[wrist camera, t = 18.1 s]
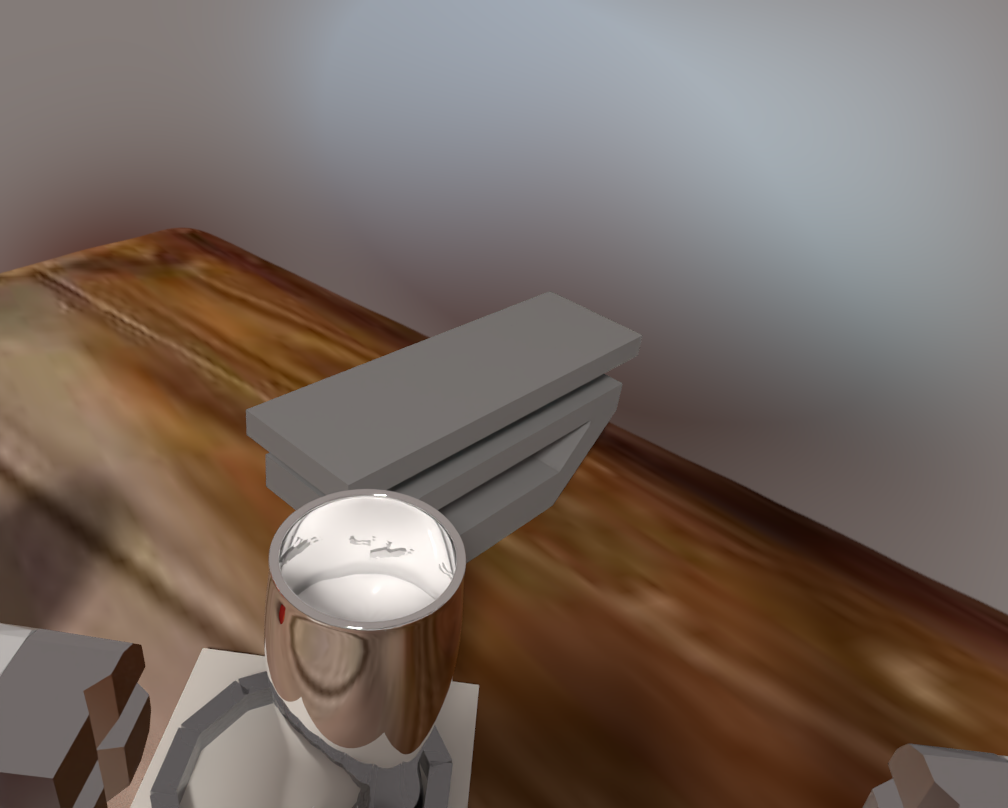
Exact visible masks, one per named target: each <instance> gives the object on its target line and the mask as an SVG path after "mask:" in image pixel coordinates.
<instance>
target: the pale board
mask: <svg viewBox="0 0 1008 808" xmlns="http://www.w3.org/2000/svg"><path fill="white" fill-rule="evenodd" d="M264 671H266V660H265V656H259V655H251V654H244V653H236V652H229V651H221V650H214V649H206V648H203V649H202V651H201V653H200V656H199V658H198V660H197V662H196V664H195V667H194V669H193V671H192V673H191V675H190V678H189V680H188V682H187V684H186V686H185V689H184V691H183V693H182V695H181V697H180V700H179V702H178V704H177V706H176V708H175V711H174V713H173V715H172V717H171V719H170V722H169V724H168V726H167V728H166V730H165V732H164V735H163V737H162V739H161V741H160V743H159V746H158V748H157V750H156V752H155V754H154V757H153V759H152V761H151V763H150V765H149V768H148V770H147V772H146V774H145V776H144V779H143V781H142V783H141V785H140V787H139V790H138V792H137V794H136V796H135V798H134V801H133V803H132V805H131V807H130V808H151V801H150V795H151V794H150V791H151V789H152V786H153V784H154V782H155V779H156V777H157V775H158V773H159V770H160V768H161V766H162V764H163V761H164V759H165V757H166V755H167V752H168V750H169V748H170V746H171V743H172V741H173V739H174V736H175V734H176V732H177V730H178V727H180V728H181V724H182V723H183V722H184V721H186V720H187V719H188V718H189V717H191V716H192V715H193V714H194V713H196V712H197V711H198V710H199V709H200V708H202V707H203V706H204V705H205V704H207V703H208V702H209V701H210V700H212V699H213V698H214V697H215V696H217V695H218V694H219V693H220V692H221V691H223V690H224V689H225V688H226V687H228V686H229V685H230V684H231V683H233V682H234V681H237V682H238V683H239V681H238V679H239V678H243V677H246V676H250V675H254V674H257V673H261V672H264ZM478 692H479V685H475V684H468V683H460V682H453V681H452V683H451V685H450V688H449V691H448V694H447V697H446V699H445V702H444V705H443V708H442V710H441V712H440V714H439V717H438V719H437V721H436V723H435V726H436V728H437V730H438V732H439V734H440V736H441V738H442V740H443V742H444V744H445V746H446V748H447V750H448V752H449V754H450V756H451V758H452V763H453V767H452V775H451V784H450V792H449V801H448V808H467V807H468V797H469V786H470V776H471V765H472V755H473V744H474V734H475V723H476V713H477V702H478ZM289 764H290V757H289V752H288V749H287V745H286V742H285V739H284V736H283V733H282V730H281V727H280V724H279V721H278V718H277V715H276V712H275V708H274V705H273V703H272V704H269V705H266V706H262V707H259V708H256V709H252V710H249V711H247V712H246V713H245V714H244V715H242V716H241V717H240V718H239V719H238V720H237V721H235V722H234V723H233V724H232V725H231V726H230V727H228V728H227V729H226V730H225V731H224V732H223V733H221V734H220V735H219V736H218V737H217V738H216V739H214V740H213V741H212V742H211V743H210V744H209V745H207V746H206V747H205V748H204V749H203V750H202V751H201V753H200V755H199V758H198V760H197V763H196V765H195V767H194V770H193V772H192V775H191V777H190V780H189V782H188V785H187V787H186V790H185V792H184V795H183V797H182V800H181V802H180V805H179V807H180V808H280V801H281V792H282V788H283V783H284V780H285V777H286V773H287V770H288V767H289ZM420 770H421V776H422V782H423V792H424V799H423V808H424V803H425V796H426V789H427V782H428V780H427V778H426V776H425V773H424V771H423V769H422V767H421V765H420Z"/></svg>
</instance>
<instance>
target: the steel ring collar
mask: <svg viewBox="0 0 1008 808" xmlns="http://www.w3.org/2000/svg"><path fill="white" fill-rule="evenodd" d="M238 681H239V683H238V682H237V681H234V682H233V683H231V684H230V685H229V686H228V687H226V688H225V689H224V690H223V691H221V692H220V693H219V694H218V695H217V696H215V697H214V698H213V699H212V700H210V701H209V702H208V703H207V704H205V705H204V706H203V707H202V708H200V709H199V710H198V711H197V712H196V713H194V714H193V715H192V716H191V717H189V718H188V719H187V720H186V721H184V722H183V723H182V724H181V728H180V727H178V730H177V732H176V734H175V736H174V739H173V741H172V743H171V746H170V748H169V750H168V752H167V755H166V757H165V759H164V761H163V764H162V766H161V768H160V770H159V773H158V775H157V777H156V779H155V782H154V784H153V786H152V789H151V791H150V794H151V795H150V801H151V808H180V807H179V805H180V802H181V800H182V797H183V795H184V792H185V790H186V787H187V785H188V782H189V780H190V777H191V775H192V772H193V770H194V767H195V765H196V763H197V760H198V758H199V755H200V753H201V751H202V750H203V749H204V748H205V747H206V746H207V745H209V744H210V743H211V742H212V741H213V740H214V739H216V738H217V737H218V736H219V735H220V734H221V733H223V732H224V731H225V730H226V729H227V728H228V727H230V726H231V725H232V724H233V723H234V722H235V721H237V720H238V719H239V718H240V717H241V716H242V715H244V714H245V713H246V712H247V711H249V710H252V709H256V708H259V707H262V706H266V705H269V704H272V703H273V701H272V697H271V692H270V688H269V683H268V679H267V672H266V671H264V672H261V673H257V674H254V675H250V676H246V677H243V678H239V679H238ZM420 765H421V767H422V769H423V771H424V773H425V776H426V778H427V780H428V782H427V789H426V796H425V803H424V808H448V801H449V792H450V784H451V775H452V767H453V763H452V758H451V756H450V754H449V752H448V750H447V748H446V746H445V744H444V742H443V740H442V738H441V736H440V734H439V732H438V730H437V728H436V726H434V728H433V730H432V732H431V734H430V736H429V739H428V741H427V743H426V745H425V747H424V750H423V752H422V755H421V758H420Z"/></svg>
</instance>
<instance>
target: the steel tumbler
mask: <svg viewBox="0 0 1008 808" xmlns="http://www.w3.org/2000/svg"><path fill="white" fill-rule="evenodd" d="M268 561H269V574H268V583H267V593H266V605H265V625H264V648H265V660H266V672H267V679H268V683H269V688H270V692H271V697H272V701H273V705H274V708H275V712H276V715H277V718H278V721H279V724H280V727H281V730H282V733H283V736H284V739H285V742H286V745H287V749H288V752H289V757H290V764H289V767H288V770H287V773H286V777H285V780H284V783H283V788H282V792H281V801H280V808H423V799H424V792H423V782H422V776H421V770H420V758H421V755H422V752H423V750H424V747H425V745H426V743H427V741H428V739H429V736H430V734H431V732H432V730H433V728H434V726H435V723H436V721H437V719H438V717H439V714H440V712H441V710H442V708H443V705H444V702H445V699H446V697H447V694H448V691H449V688H450V685H451V683H452V679H453V675H454V671H455V666H456V661H457V656H458V652H459V645H460V637H461V628H462V617H463V599H464V574H465V570H466V552H465V547H464V544H463V541H462V539H461V537H460V535H459V533H458V531H457V530H456V528H455V527H454V526H453V524H452V523H451V522H450V521H449V520H448V519H447V518H446V517H445V516H444V515H443V514H442V513H440V512H439V511H438V510H437V509H435V508H434V507H432V506H430V505H429V504H427V503H425V502H423V501H421V500H419V499H416V498H414V497H411V496H408V495H405V494H402V493H398V492H393V491H387V490H379V489H354V490H346V491H340V492H336V493H332V494H328V495H325V496H322V497H320V498H317V499H315V500H313V501H311V502H309V503H307V504H305V505H303V506H302V507H300V508H299V509H297V510H296V511H295V512H293V513H292V514H291V515H290V516H289V517H288V518H287V519H286V520H285V521H284V522H283V523H282V524H281V526H280V527H279V528H278V530H277V532H276V533H275V535H274V537H273V540H272V542H271V546H270V550H269V559H268Z"/></svg>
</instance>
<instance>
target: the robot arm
mask: <svg viewBox="0 0 1008 808" xmlns="http://www.w3.org/2000/svg"><path fill="white" fill-rule="evenodd" d="M144 668H145V662H144V656H143V651H142V646H141V645H139V644H134V643H128V642H121V641H115V640H109V639H103V638H96V637H90V636H84V635H77V634H71V633H65V632H59V631H52V630H46V629H39V628H32V627H25V626H18V625H11V624H4V623H0V808H108V807H107V801H109V800H110V799H112V798H113V797H114V796H116V795H117V794H118V793H120V792H121V791H122V790H124V789H125V788H126V787H128V786H129V785H130V783H131V781H132V779H133V777H134V774H135V772H136V770H137V768H138V765H139V763H140V761H141V759H142V755H143V751H144V748H145V744H146V740H147V737H148V733H149V728H150V715H151V706H150V698H149V694H148V693H147V692H146V691H145V690H144V689H143V688H142V687H141V686H140V685H139V684H138V683H137V682H138V680H139V678H140V676H141V674H142V672H143V670H144ZM888 765H889V768H890V771H891V774H892V776H893V779H891V780H889V781H887V782H885V783H883V784H881V785H879V786H877V787H875V788H873V789H872V791H871V793H870V795H869V797H868V799H867V800H866V802H865V804H864V806H863V808H1008V756H998V755H996V754H993V753H985V752H976V751H968V750H959V749H951V748H942V747H933V746H925V745H916V744H906V745H904V746H902V747H900V748H898V749H897V750H896V752H895V753H894V755H893V756H892V758H891V759H890V761H889V763H888Z"/></svg>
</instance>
